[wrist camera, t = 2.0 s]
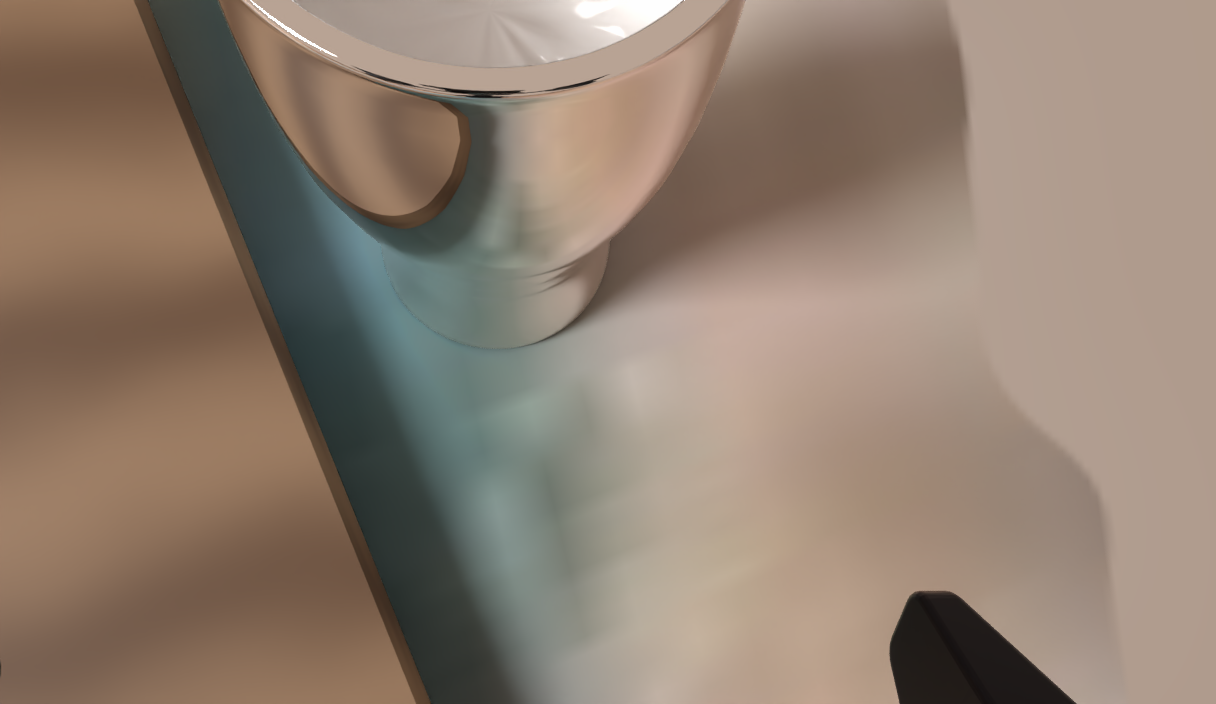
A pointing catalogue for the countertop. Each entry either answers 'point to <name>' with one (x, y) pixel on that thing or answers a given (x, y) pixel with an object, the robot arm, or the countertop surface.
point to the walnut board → (156, 409)
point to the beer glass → (487, 136)
